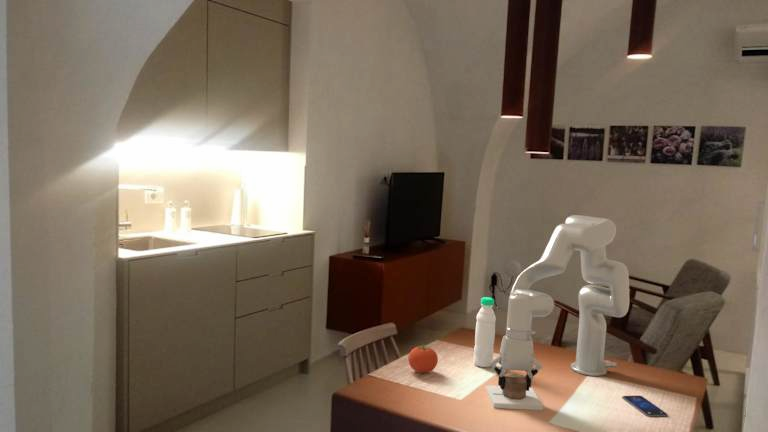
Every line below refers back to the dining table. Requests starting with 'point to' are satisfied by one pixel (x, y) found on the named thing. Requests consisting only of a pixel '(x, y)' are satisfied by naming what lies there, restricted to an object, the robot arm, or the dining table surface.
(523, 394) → the brown short cylinder
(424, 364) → the tomato
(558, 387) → the dining table surface
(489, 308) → the water bottle
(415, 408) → the dining table surface
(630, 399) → the smartphone
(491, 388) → the plate
